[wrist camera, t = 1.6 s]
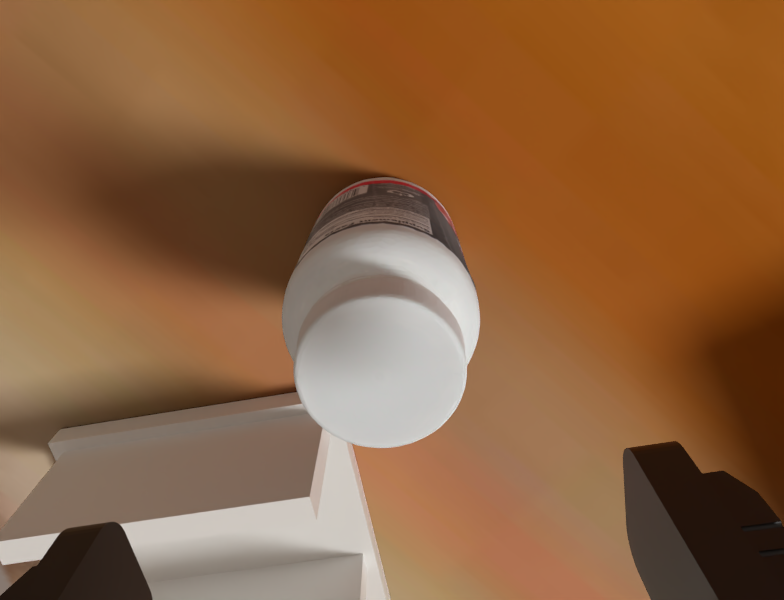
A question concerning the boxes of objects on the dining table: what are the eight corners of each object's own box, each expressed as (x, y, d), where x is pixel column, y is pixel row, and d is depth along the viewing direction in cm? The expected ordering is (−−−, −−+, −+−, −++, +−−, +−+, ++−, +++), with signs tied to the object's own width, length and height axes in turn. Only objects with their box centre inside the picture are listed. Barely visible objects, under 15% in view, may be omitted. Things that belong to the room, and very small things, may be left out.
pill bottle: (460, 307, 24) (499, 468, 15) (321, 317, 24) (278, 481, 15) (454, 167, 22) (495, 256, 13) (303, 179, 22) (239, 275, 13)
